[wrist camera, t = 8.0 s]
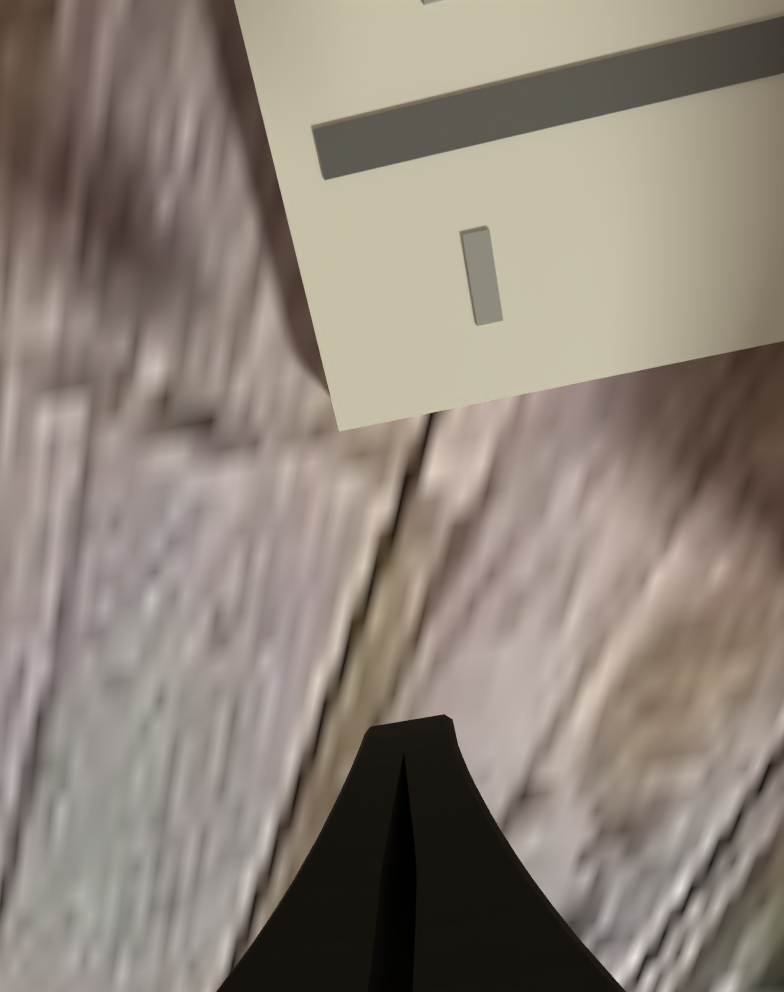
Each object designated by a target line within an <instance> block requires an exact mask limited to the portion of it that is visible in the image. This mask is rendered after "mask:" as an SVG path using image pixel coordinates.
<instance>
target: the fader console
mask: <svg viewBox="0 0 784 992" xmlns="http://www.w3.org/2000/svg"><path fill="white" fill-rule="evenodd" d="M234 2H235V6H236V10H237V14H238V18H239V22H240V27H241V31H242V35H243V39H244V43H245V47H246V51H247V55H248V59H249V64H250V68H251V72H252V76H253V80H254V84H255V88H256V92H257V96H258V101H259V105H260V109H261V113H262V117H263V121H264V125H265V129H266V133H267V137H268V142H269V146H270V150H271V154H272V158H273V162H274V166H275V170H276V174H277V179H278V183H279V187H280V191H281V195H282V199H283V203H284V207H285V211H286V216H287V220H288V224H289V228H290V232H291V236H292V240H293V244H294V248H295V252H296V257H297V261H298V265H299V269H300V273H301V277H302V281H303V285H304V289H305V294H306V298H307V302H308V306H309V310H310V314H311V318H312V322H313V326H314V331H315V335H316V339H317V343H318V347H319V351H320V355H321V359H322V363H323V367H324V372H325V376H326V380H327V384H328V388H329V392H330V396H331V400H332V404H333V409H334V413H335V417H336V421H337V425H338V429H339V431H344V430H349V429H354V428H359V427H364V426H369V425H374V424H378V423H383V422H388V421H393V420H398V419H403V418H408V417H413V416H418V415H423V414H428V413H433V412H437V411H442V410H447V409H452V408H457V407H462V406H467V405H472V404H477V403H482V402H487V401H492V400H497V399H501V398H506V397H511V396H516V395H521V394H526V393H531V392H536V391H541V390H546V389H551V388H556V387H560V386H565V385H570V384H575V383H580V382H585V381H590V380H595V379H600V378H605V377H610V376H615V375H620V374H624V373H629V372H634V371H639V370H644V369H649V368H654V367H659V366H664V365H669V364H674V363H679V362H683V361H688V360H693V359H698V358H703V357H708V356H713V355H718V354H723V353H728V352H733V351H738V350H743V349H747V348H752V347H757V346H762V345H767V344H772V343H777V342H782V341H784V0H234Z"/></svg>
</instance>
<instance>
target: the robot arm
mask: <svg viewBox="0 0 784 992" xmlns="http://www.w3.org/2000/svg"><path fill="white" fill-rule="evenodd" d="M217 992H626V991H625V990H624V989H623V988H622V987H621V986H620V984H619V983H618V982H617V981H616V980H615V979H614V978H613V977H612V975H611V974H610V973H609V972H608V971H607V970H606V969H605V968H604V966H603V965H602V964H601V963H600V962H599V961H598V960H597V959H596V957H595V956H594V955H593V954H592V953H591V952H590V951H589V949H588V948H587V947H586V946H585V945H584V944H583V943H582V942H581V940H580V939H579V938H578V937H577V936H576V934H575V933H574V932H573V931H572V930H571V928H570V927H569V926H568V924H567V923H566V922H565V921H564V919H563V918H562V917H561V916H560V914H559V913H558V912H557V911H556V909H555V908H554V907H553V906H552V904H551V903H550V902H549V900H548V899H547V898H546V896H545V895H544V893H543V892H542V891H541V889H540V888H539V887H538V885H537V884H536V883H535V881H534V880H533V879H532V877H531V876H530V874H529V873H528V871H527V870H526V869H525V867H524V866H523V864H522V863H521V861H520V860H519V858H518V857H517V855H516V854H515V852H514V851H513V849H512V847H511V846H510V844H509V843H508V841H507V840H506V838H505V836H504V835H503V833H502V832H501V830H500V828H499V827H498V825H497V823H496V822H495V820H494V818H493V817H492V815H491V813H490V811H489V809H488V808H487V806H486V804H485V802H484V800H483V798H482V796H481V795H480V793H479V791H478V789H477V787H476V785H475V783H474V781H473V779H472V777H471V775H470V773H469V771H468V768H467V766H466V764H465V761H464V759H463V757H462V754H461V751H460V749H459V746H458V743H457V738H456V733H455V729H454V724H453V720H452V719H451V718H449V717H448V716H446V715H445V714H444V715H438V716H432V717H426V718H420V719H414V720H408V721H402V722H396V723H390V724H384V725H378V726H372V727H370V728H369V729H368V730H367V732H366V733H365V735H364V738H363V740H362V743H361V746H360V748H359V751H358V753H357V756H356V758H355V760H354V763H353V765H352V767H351V770H350V772H349V774H348V777H347V779H346V781H345V783H344V785H343V788H342V790H341V792H340V794H339V796H338V798H337V800H336V802H335V804H334V806H333V808H332V810H331V812H330V814H329V816H328V818H327V820H326V822H325V824H324V826H323V828H322V830H321V832H320V834H319V836H318V838H317V840H316V842H315V843H314V845H313V847H312V849H311V850H310V852H309V854H308V856H307V857H306V859H305V861H304V863H303V864H302V866H301V868H300V870H299V871H298V873H297V875H296V877H295V879H294V880H293V882H292V884H291V885H290V887H289V889H288V890H287V892H286V893H285V895H284V897H283V898H282V900H281V901H280V903H279V905H278V906H277V908H276V909H275V911H274V912H273V914H272V915H271V917H270V918H269V920H268V921H267V923H266V924H265V926H264V927H263V929H262V930H261V932H260V933H259V935H258V936H257V937H256V939H255V940H254V942H253V943H252V945H251V946H250V947H249V949H248V950H247V952H246V953H245V954H244V956H243V957H242V958H241V960H240V961H239V962H238V964H237V965H236V966H235V968H234V969H233V970H232V972H231V973H230V974H229V976H228V977H227V978H226V980H225V981H224V982H223V984H222V985H221V986H220V988H219V989H218V990H217Z"/></svg>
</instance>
